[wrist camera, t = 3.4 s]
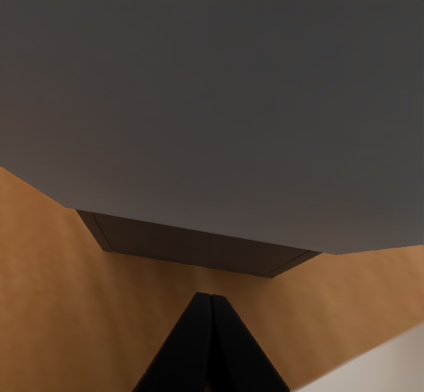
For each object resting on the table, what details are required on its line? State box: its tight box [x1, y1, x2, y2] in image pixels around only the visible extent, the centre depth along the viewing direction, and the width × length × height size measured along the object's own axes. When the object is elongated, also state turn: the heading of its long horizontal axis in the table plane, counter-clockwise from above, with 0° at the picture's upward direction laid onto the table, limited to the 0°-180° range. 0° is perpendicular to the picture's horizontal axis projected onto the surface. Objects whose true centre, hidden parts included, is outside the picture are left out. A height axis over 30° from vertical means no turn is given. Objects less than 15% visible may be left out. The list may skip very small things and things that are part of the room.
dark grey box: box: [76, 209, 323, 278], centre depth 21 cm, size 14×13×9 cm
